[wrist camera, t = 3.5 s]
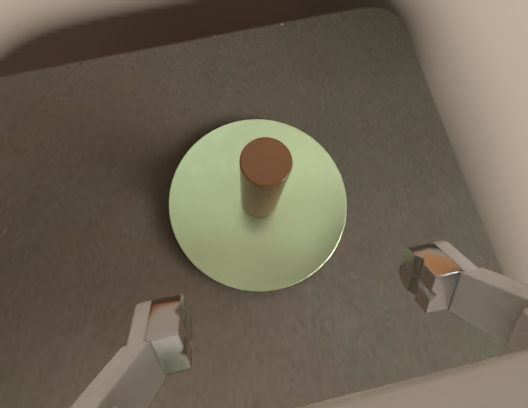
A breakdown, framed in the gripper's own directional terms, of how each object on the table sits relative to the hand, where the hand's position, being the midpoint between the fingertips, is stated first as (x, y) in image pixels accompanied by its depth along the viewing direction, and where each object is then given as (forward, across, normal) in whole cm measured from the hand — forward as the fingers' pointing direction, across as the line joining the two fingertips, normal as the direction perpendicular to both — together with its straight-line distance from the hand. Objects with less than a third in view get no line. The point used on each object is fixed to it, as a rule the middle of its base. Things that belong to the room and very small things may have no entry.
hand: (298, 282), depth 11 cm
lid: (+10, 0, +2) cm, 10 cm away
